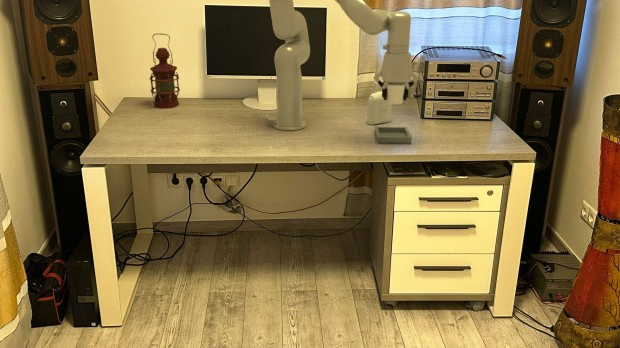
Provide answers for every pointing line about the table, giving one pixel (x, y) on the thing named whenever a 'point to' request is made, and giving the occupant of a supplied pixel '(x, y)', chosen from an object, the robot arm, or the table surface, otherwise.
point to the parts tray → (392, 135)
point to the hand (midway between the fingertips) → (394, 98)
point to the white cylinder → (395, 92)
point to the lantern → (164, 79)
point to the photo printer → (378, 109)
